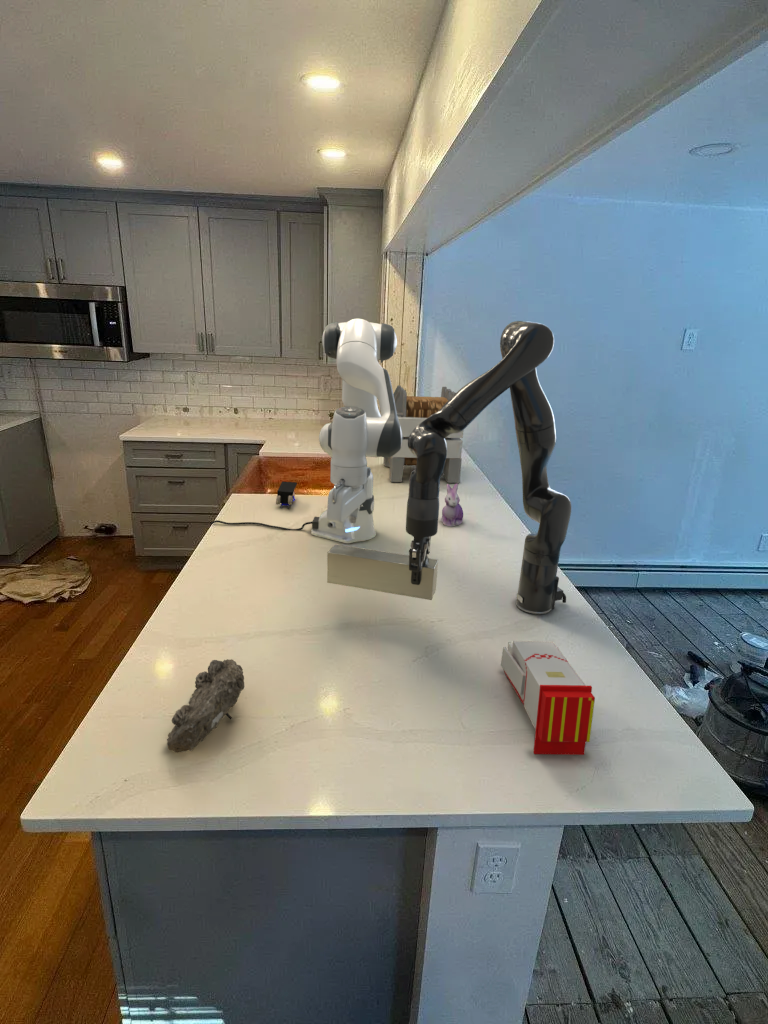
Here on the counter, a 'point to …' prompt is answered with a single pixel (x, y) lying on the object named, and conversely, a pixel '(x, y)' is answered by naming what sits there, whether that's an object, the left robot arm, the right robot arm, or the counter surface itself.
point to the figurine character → (286, 494)
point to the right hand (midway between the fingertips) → (418, 578)
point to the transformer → (411, 416)
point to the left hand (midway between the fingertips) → (347, 528)
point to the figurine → (452, 507)
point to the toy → (550, 696)
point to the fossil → (206, 705)
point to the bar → (379, 571)
